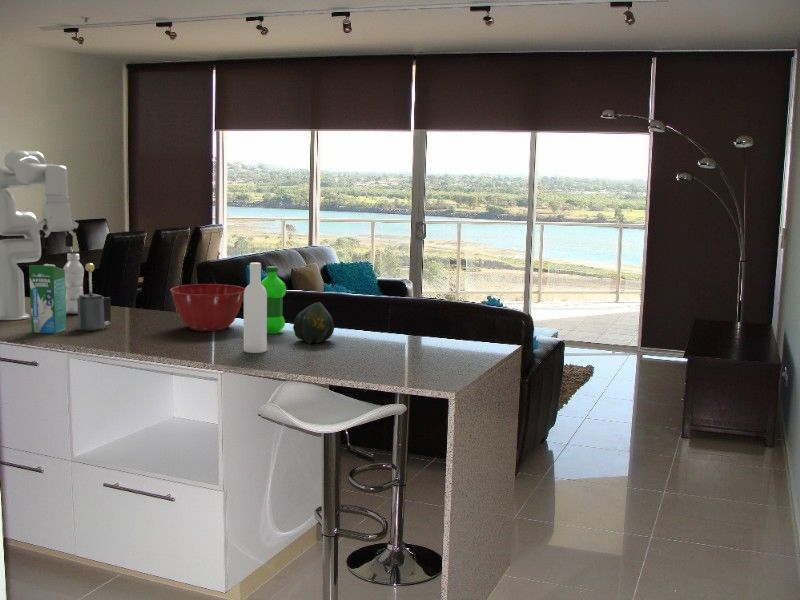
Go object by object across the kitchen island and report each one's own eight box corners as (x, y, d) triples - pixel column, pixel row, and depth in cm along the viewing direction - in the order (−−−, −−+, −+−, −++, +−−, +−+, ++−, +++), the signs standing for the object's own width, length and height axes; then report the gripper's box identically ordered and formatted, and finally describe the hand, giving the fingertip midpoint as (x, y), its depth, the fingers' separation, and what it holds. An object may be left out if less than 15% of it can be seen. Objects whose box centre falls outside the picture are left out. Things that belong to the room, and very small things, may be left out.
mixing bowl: (258, 330, 334) (258, 290, 332) (186, 337, 318) (186, 295, 316) (228, 319, 357) (228, 282, 355) (160, 325, 341) (159, 286, 339)
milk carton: (66, 329, 328) (64, 263, 324) (55, 333, 319) (52, 265, 315) (43, 328, 328) (41, 262, 325) (31, 332, 319) (28, 264, 316)
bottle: (256, 354, 291) (256, 264, 287) (238, 351, 295) (238, 263, 291) (271, 350, 298) (272, 263, 294) (254, 347, 302) (254, 261, 298)
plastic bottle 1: (89, 314, 363) (87, 254, 360) (70, 316, 357) (68, 255, 353) (79, 311, 369) (78, 252, 365) (60, 313, 362) (58, 253, 359)
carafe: (74, 328, 330) (73, 295, 328) (104, 325, 338) (103, 292, 336) (85, 332, 323) (84, 297, 321) (115, 328, 331) (115, 295, 330)
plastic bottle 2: (253, 333, 328) (253, 267, 325) (266, 329, 338) (266, 264, 335) (278, 335, 325) (278, 268, 322) (289, 331, 335) (290, 266, 332)
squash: (286, 330, 306) (315, 298, 306) (285, 324, 320) (313, 294, 321) (316, 356, 308) (345, 325, 309) (314, 350, 323) (341, 320, 323)
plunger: (79, 306, 328) (78, 262, 326) (95, 304, 333) (93, 262, 330) (86, 308, 324) (85, 264, 322) (102, 306, 328) (101, 263, 326)
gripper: (70, 199, 322) (71, 245, 325) (28, 199, 307) (30, 248, 310) (83, 200, 318) (84, 246, 321) (42, 200, 304) (43, 249, 306)
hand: (57, 247), depth 315 cm, fingers open, 9 cm apart
